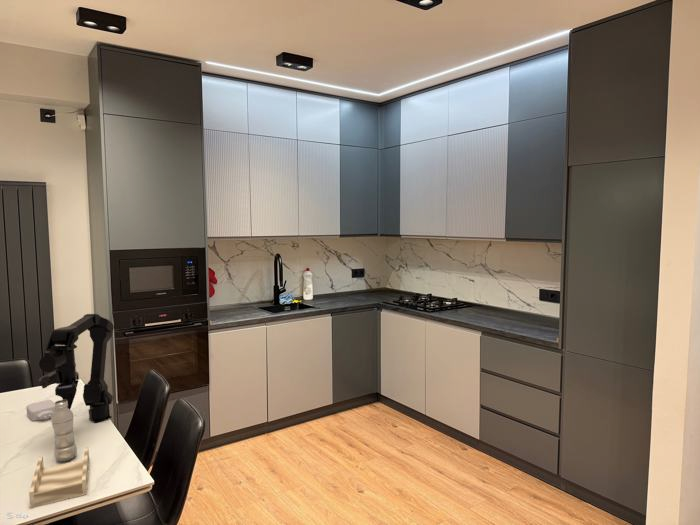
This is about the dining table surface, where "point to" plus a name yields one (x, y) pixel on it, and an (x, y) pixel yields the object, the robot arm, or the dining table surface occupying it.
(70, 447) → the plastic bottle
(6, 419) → the dining table surface
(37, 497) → the tray
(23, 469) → the dining table surface
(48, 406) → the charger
